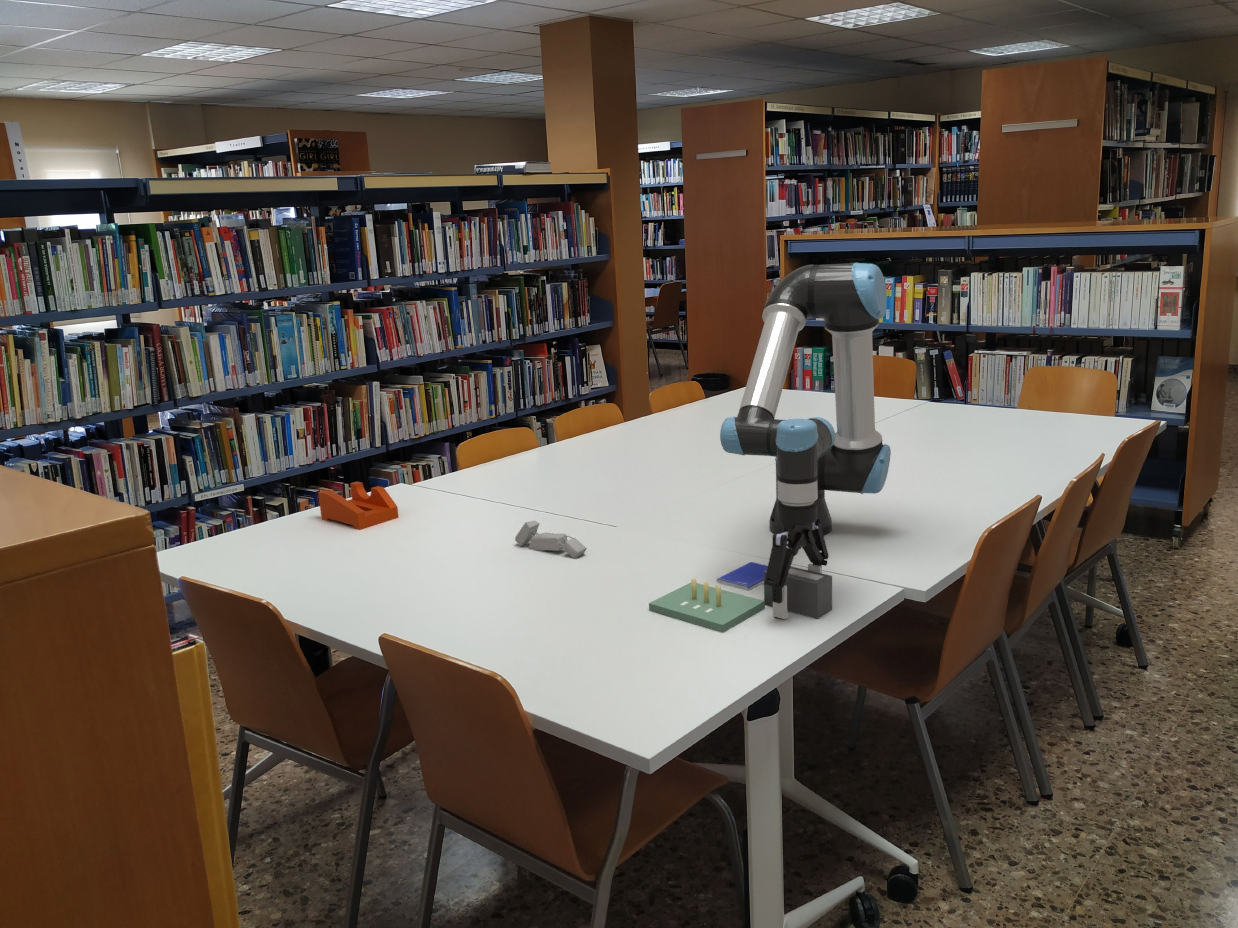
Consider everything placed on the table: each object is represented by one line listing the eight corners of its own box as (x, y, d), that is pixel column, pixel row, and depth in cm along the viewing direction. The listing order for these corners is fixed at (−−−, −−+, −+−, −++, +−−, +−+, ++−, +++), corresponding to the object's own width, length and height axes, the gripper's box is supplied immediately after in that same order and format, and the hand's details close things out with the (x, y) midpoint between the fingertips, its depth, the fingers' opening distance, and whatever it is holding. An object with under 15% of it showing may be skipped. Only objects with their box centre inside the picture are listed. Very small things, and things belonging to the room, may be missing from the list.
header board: (692, 588, 195) (691, 563, 194) (764, 607, 183) (764, 581, 182) (649, 610, 185) (647, 584, 184) (722, 632, 173) (722, 604, 172)
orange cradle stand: (321, 520, 259) (318, 492, 257) (360, 509, 268) (357, 481, 266) (359, 531, 247) (356, 501, 245) (398, 519, 257) (395, 490, 255)
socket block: (779, 596, 188) (778, 562, 187) (832, 609, 181) (832, 574, 179) (764, 604, 185) (763, 570, 183) (817, 618, 177) (817, 583, 175)
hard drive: (748, 586, 192) (781, 568, 201) (716, 577, 197) (749, 561, 206) (748, 593, 192) (781, 575, 201) (716, 584, 198) (749, 567, 207)
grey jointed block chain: (514, 544, 228) (513, 518, 226) (524, 540, 231) (524, 514, 229) (577, 566, 217) (577, 539, 214) (587, 561, 219) (587, 534, 217)
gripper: (813, 483, 188) (813, 583, 194) (744, 513, 171) (746, 622, 176) (846, 488, 184) (845, 591, 189) (779, 520, 166) (780, 632, 171)
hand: (797, 606), depth 183 cm, fingers open, 12 cm apart
